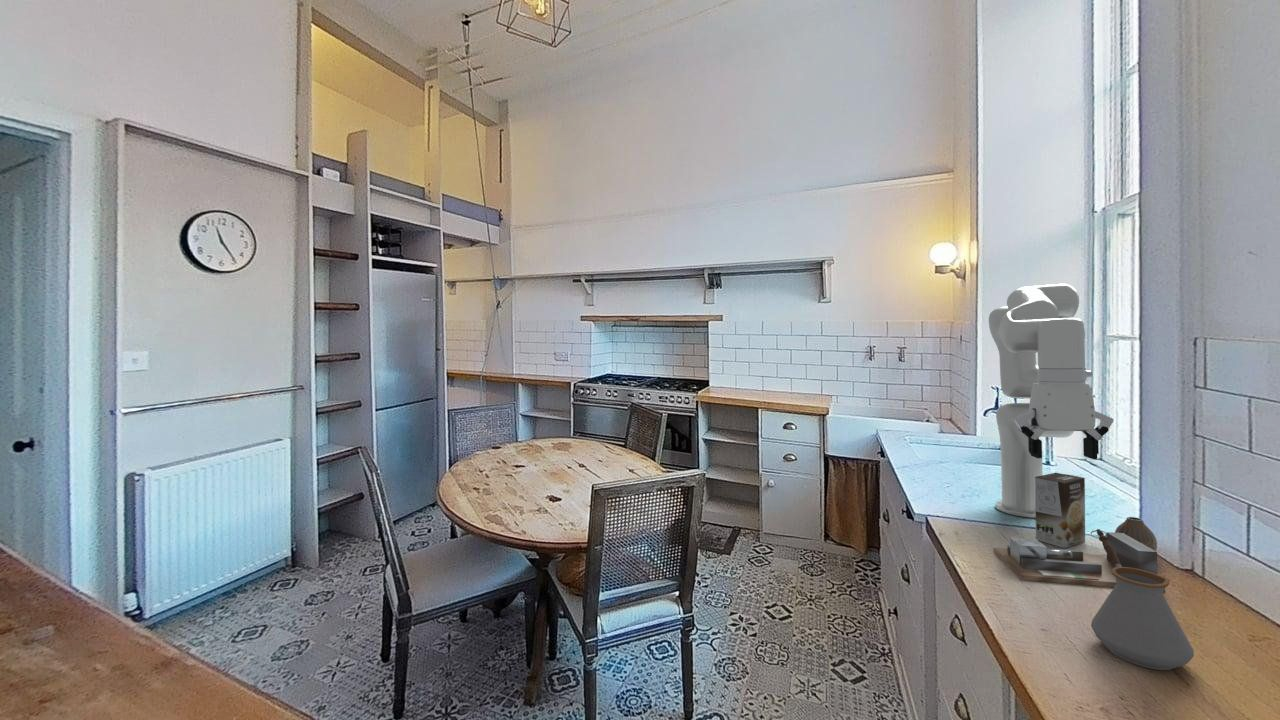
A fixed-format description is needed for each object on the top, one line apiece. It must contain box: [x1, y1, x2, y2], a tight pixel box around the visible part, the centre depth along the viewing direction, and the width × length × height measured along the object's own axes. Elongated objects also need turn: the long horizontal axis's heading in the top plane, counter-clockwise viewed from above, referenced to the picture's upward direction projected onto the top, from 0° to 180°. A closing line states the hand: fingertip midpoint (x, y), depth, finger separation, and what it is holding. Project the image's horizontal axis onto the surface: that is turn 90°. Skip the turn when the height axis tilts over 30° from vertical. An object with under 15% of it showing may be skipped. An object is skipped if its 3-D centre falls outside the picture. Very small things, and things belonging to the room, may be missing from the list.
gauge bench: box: [993, 531, 1166, 592], centre depth 105 cm, size 24×14×7 cm, turn 74°
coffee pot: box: [1090, 528, 1195, 671], centre depth 82 cm, size 21×12×15 cm, turn 154°
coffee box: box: [1035, 472, 1086, 549], centre depth 120 cm, size 9×6×16 cm
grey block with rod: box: [1009, 536, 1073, 565], centre depth 105 cm, size 11×9×4 cm
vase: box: [1114, 516, 1158, 552], centre depth 110 cm, size 7×7×9 cm
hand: (1062, 457), depth 102 cm, fingers open, 9 cm apart
